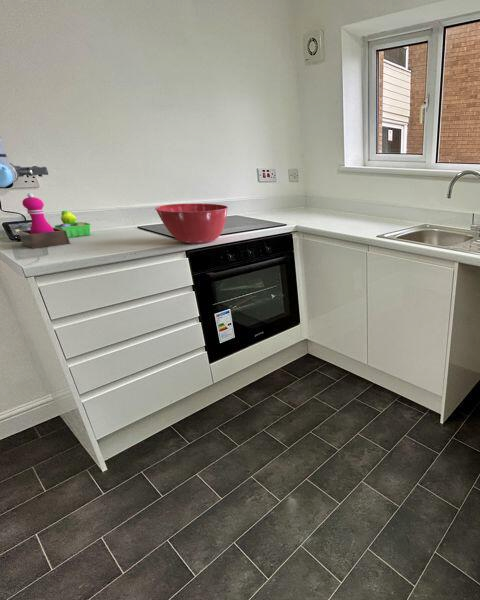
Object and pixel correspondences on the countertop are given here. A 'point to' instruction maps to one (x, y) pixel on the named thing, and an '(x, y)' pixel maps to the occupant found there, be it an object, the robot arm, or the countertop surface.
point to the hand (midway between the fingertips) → (9, 169)
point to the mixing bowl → (194, 221)
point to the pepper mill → (36, 215)
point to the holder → (44, 238)
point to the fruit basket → (73, 225)
